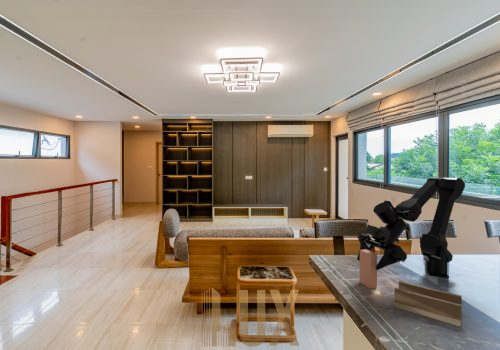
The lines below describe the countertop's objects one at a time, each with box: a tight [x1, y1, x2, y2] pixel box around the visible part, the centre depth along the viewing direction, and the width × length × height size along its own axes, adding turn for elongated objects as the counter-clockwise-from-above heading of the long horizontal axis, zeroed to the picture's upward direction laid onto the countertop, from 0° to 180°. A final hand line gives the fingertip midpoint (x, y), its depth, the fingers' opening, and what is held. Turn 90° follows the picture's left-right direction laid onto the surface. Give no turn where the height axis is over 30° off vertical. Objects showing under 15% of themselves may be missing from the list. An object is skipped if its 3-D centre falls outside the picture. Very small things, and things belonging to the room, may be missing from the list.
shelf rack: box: [393, 280, 463, 327], centre depth 79 cm, size 10×16×5 cm, turn 51°
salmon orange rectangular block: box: [359, 249, 378, 290], centre depth 95 cm, size 3×6×12 cm, turn 17°
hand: (366, 264), depth 95 cm, fingers open, 9 cm apart
